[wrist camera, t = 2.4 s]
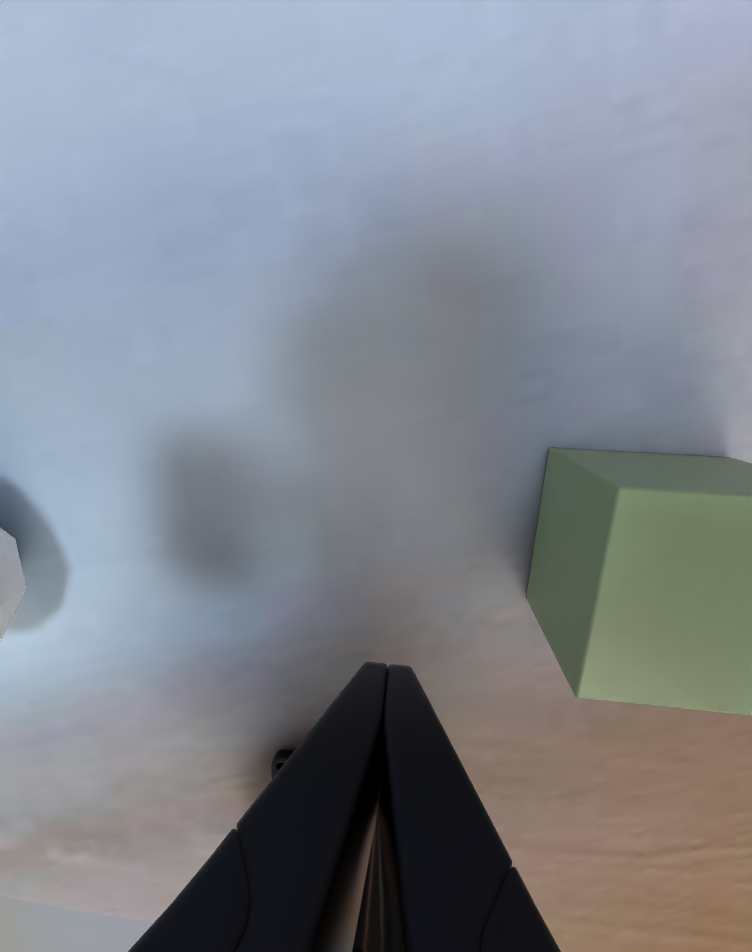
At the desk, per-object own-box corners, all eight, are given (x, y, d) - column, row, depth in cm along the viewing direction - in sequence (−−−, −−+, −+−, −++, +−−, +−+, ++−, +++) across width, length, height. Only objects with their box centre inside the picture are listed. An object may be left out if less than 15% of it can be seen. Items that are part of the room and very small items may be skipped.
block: (687, 611, 15) (814, 723, 10) (525, 597, 16) (575, 699, 11) (729, 456, 14) (903, 503, 9) (548, 447, 14) (618, 486, 9)
